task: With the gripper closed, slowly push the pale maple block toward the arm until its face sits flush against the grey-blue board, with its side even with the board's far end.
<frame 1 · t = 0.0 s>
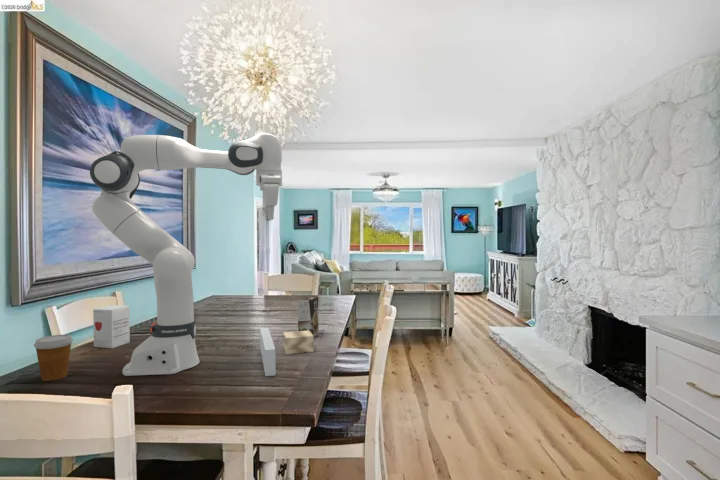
hand: (269, 220, 142), 48 cm above the table, tool pointing down, fingers open, 8 cm apart
maple block: (298, 350, 151), on the table
supplement box: (112, 345, 160), on the table
coffee box: (308, 336, 171), on the table
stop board: (267, 361, 138), on the table
disposable coffee cup: (54, 378, 124), on the table
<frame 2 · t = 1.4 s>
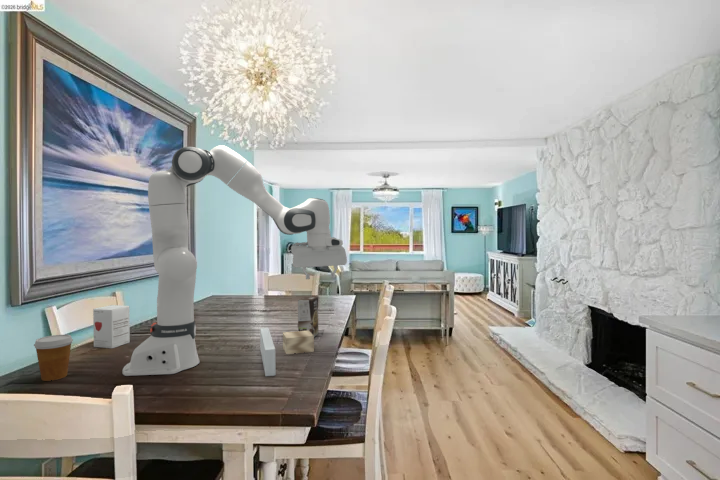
hand: (320, 278, 153), 26 cm above the table, tool pointing down, fingers open, 8 cm apart
nothing on the table moved.
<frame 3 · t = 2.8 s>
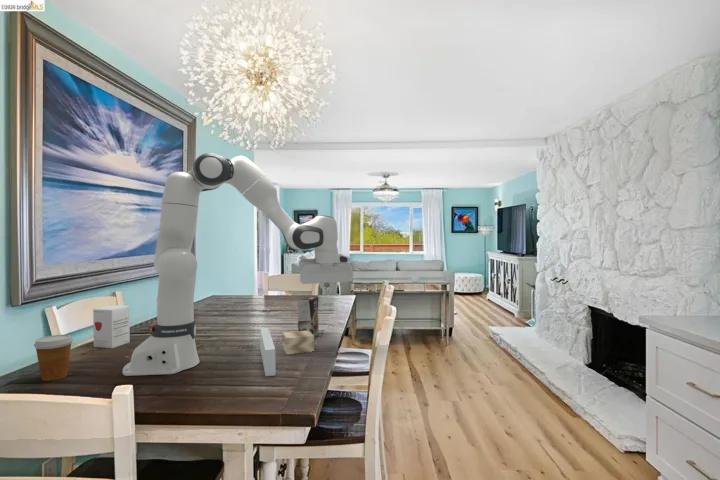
hand: (326, 294, 154), 20 cm above the table, tool pointing down, fingers closed
nothing on the table moved.
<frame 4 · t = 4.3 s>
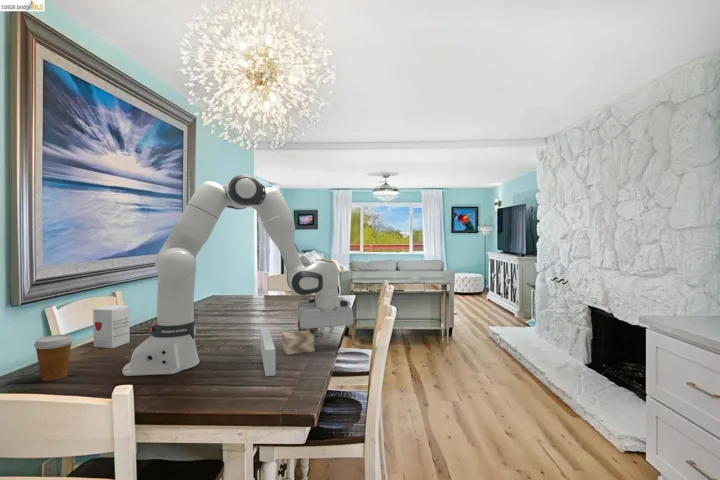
hand: (327, 338, 155), 3 cm above the table, tool pointing down, fingers closed
nothing on the table moved.
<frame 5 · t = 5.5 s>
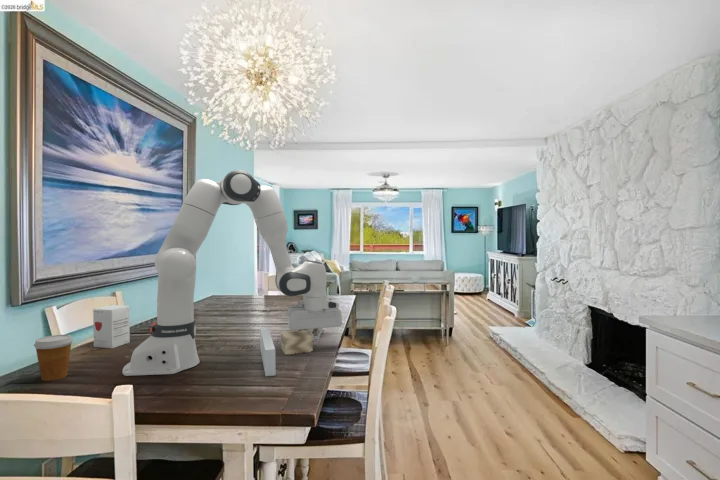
hand: (315, 340, 153), 3 cm above the table, tool pointing down, fingers closed
maple block: (296, 349, 151), on the table, touching gripper
everything else where it was.
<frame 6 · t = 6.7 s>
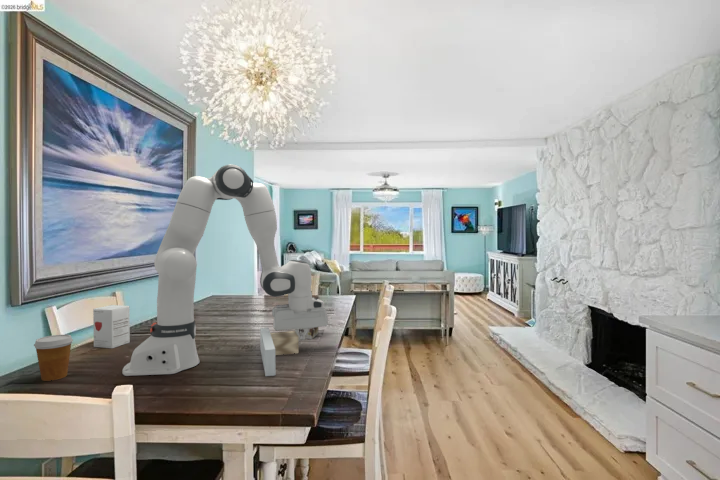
hand: (301, 340, 152), 3 cm above the table, tool pointing down, fingers closed
maple block: (283, 350, 150), on the table, touching gripper, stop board
everything else where it was.
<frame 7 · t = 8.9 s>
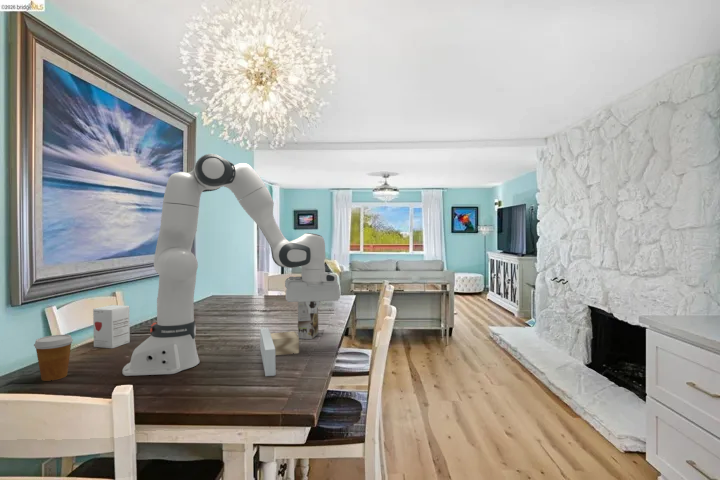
hand: (312, 313, 153), 13 cm above the table, tool pointing down, fingers closed
maple block: (283, 351, 150), on the table
everything else where it was.
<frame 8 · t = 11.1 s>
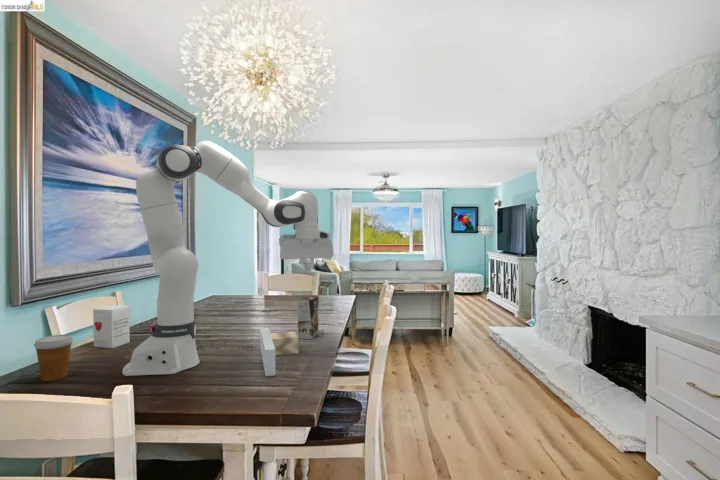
hand: (307, 270, 155), 29 cm above the table, tool pointing down, fingers closed
nothing on the table moved.
at the end: maple block 0.3 cm from the target spot on the table beside the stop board, on the table; maple block tilted 0° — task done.
